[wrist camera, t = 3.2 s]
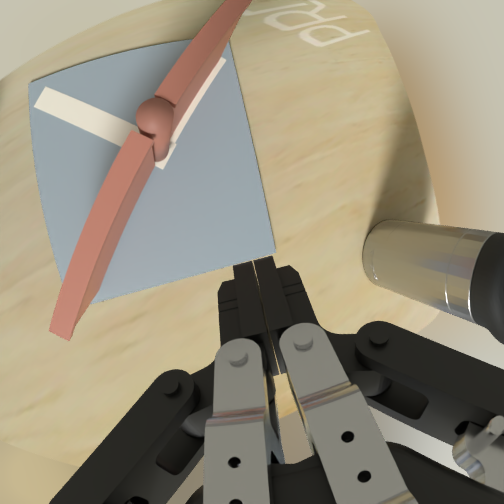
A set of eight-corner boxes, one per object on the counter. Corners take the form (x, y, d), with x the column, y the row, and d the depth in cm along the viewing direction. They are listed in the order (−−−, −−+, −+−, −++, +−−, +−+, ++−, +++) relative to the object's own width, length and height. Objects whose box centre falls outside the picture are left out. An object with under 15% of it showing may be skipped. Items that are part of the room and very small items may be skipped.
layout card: (226, 37, 29) (227, 35, 29) (274, 252, 35) (276, 252, 34) (29, 84, 24) (28, 83, 23) (72, 308, 29) (71, 309, 29)
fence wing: (143, 159, 29) (131, 129, 17) (156, 166, 29) (153, 140, 17) (87, 285, 29) (48, 330, 17) (100, 291, 29) (69, 341, 17)
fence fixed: (204, 55, 29) (230, -14, 17) (222, 64, 30) (258, -1, 17) (141, 156, 29) (128, 123, 17) (161, 166, 30) (161, 139, 18)
